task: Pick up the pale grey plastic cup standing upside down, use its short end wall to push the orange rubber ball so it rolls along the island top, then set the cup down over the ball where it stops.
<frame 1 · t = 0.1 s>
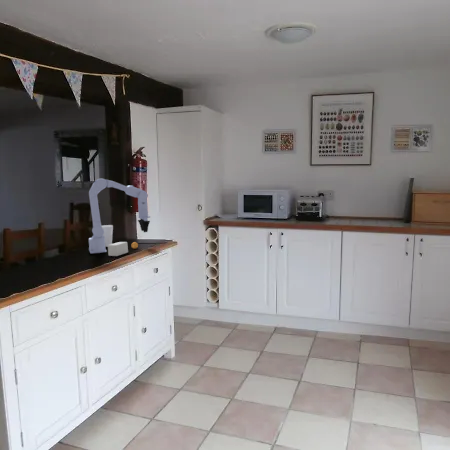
hand: (144, 231, 260), 10 cm above the table, tool pointing down, fingers open, 7 cm apart
ball: (134, 245, 258), on the table
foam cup: (106, 246, 272), on the table
cup: (118, 253, 242), on the table
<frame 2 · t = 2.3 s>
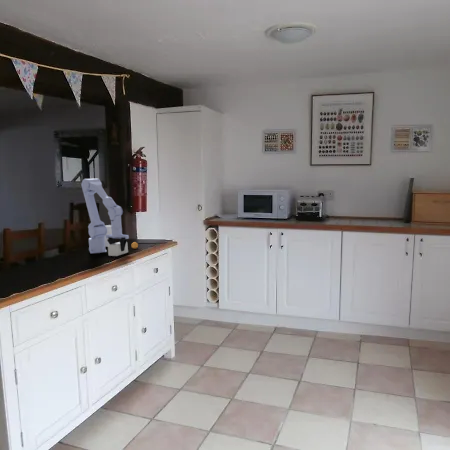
hand: (118, 250, 242), 2 cm above the table, tool pointing down, fingers closed on cup, 6 cm apart
cup: (118, 253, 242), on the table, touching gripper
everything else where it was.
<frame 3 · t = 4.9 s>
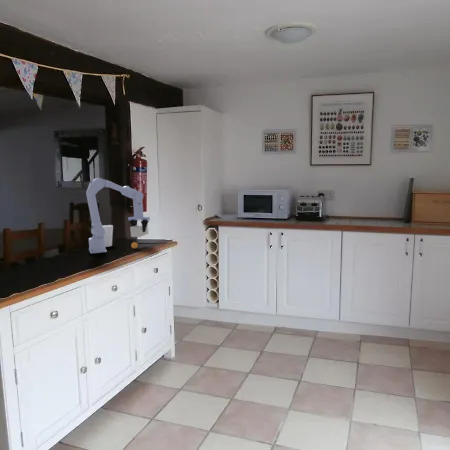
hand: (139, 231, 263), 9 cm above the table, tool pointing down, fingers closed on cup, 6 cm apart
cup: (139, 235, 263), point 7 cm above the table, touching gripper
everything else where it was.
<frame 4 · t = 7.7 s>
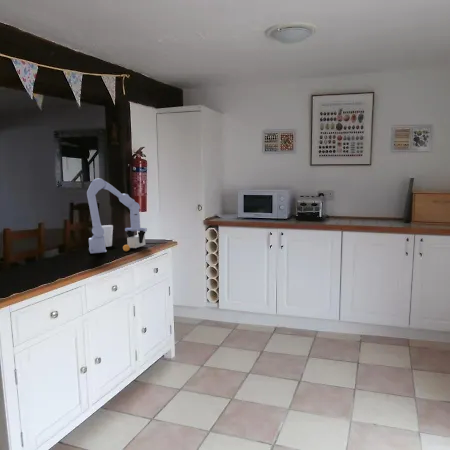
hand: (136, 242, 260), 3 cm above the table, tool pointing down, fingers closed on cup, 6 cm apart
ball: (126, 247, 250), on the table
cup: (136, 246, 260), point 1 cm above the table, touching gripper
everything else where it was.
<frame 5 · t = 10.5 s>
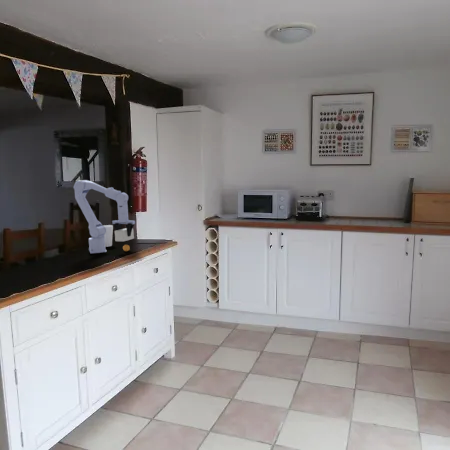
hand: (124, 236, 248), 9 cm above the table, tool pointing down, fingers closed on cup, 6 cm apart
cup: (124, 239, 248), point 7 cm above the table, touching gripper
everything else where it was.
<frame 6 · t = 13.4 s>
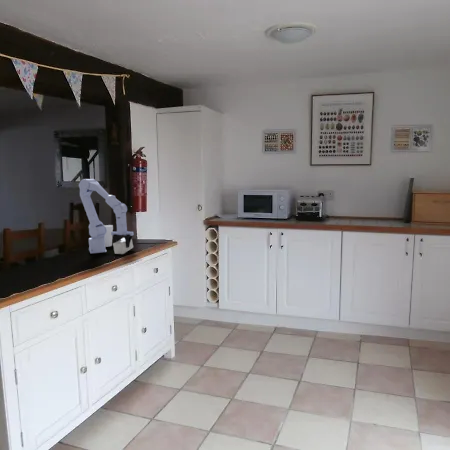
hand: (123, 247, 247), 3 cm above the table, tool pointing down, fingers closed on cup, 6 cm apart
cup: (124, 250, 247), point 1 cm above the table, tilted 10°, touching gripper
everything else where it was.
when the fingers open (2 cm above the table, at t = 14.1 s): cup stays where it is, on the table.
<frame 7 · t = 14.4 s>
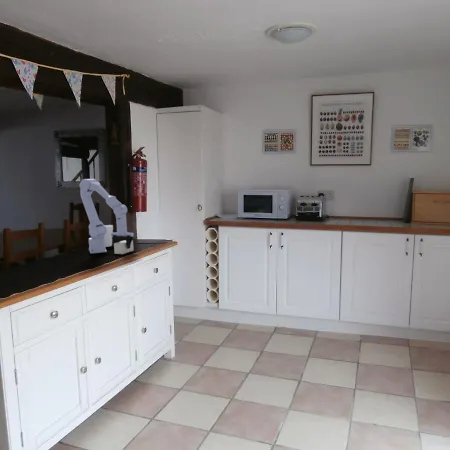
hand: (123, 248, 247), 2 cm above the table, tool pointing down, fingers open, 7 cm apart
cup: (124, 252, 248), on the table
everything else where it was.
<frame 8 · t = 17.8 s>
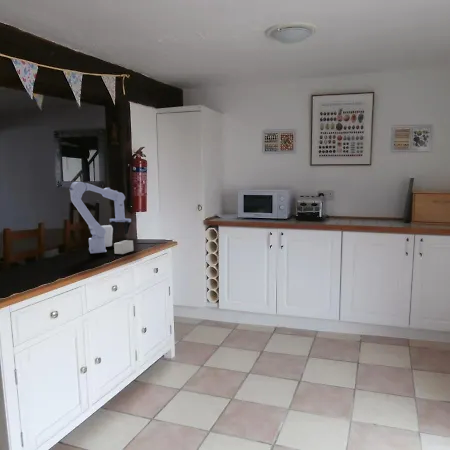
hand: (121, 233, 259), 9 cm above the table, tool pointing down, fingers open, 7 cm apart
nothing on the table moved.
at the end: ball 2.9 cm from the cup (horizontally); cup on the table; ball moved 8.4 cm from its start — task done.
